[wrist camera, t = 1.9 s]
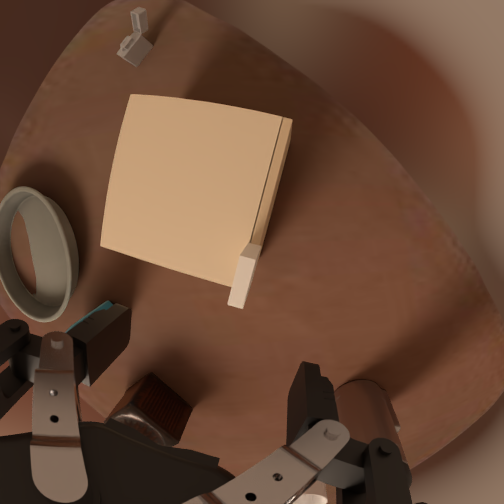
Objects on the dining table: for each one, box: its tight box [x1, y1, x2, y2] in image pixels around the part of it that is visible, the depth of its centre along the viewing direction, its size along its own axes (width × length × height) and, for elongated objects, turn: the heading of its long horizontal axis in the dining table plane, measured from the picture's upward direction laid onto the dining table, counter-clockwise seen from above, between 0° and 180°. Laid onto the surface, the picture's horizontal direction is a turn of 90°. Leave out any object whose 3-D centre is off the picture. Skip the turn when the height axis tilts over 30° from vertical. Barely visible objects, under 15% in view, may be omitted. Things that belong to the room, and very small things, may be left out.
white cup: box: [292, 480, 328, 504], centre depth 42 cm, size 8×8×10 cm
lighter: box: [117, 7, 153, 67], centre depth 30 cm, size 7×2×8 cm, turn 143°
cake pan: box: [0, 186, 79, 322], centre depth 41 cm, size 25×25×4 cm
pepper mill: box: [104, 373, 193, 447], centre depth 38 cm, size 16×11×18 cm
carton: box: [100, 94, 283, 287], centre depth 31 cm, size 15×16×12 cm
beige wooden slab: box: [227, 117, 293, 309], centre depth 28 cm, size 1×16×17 cm, turn 166°
